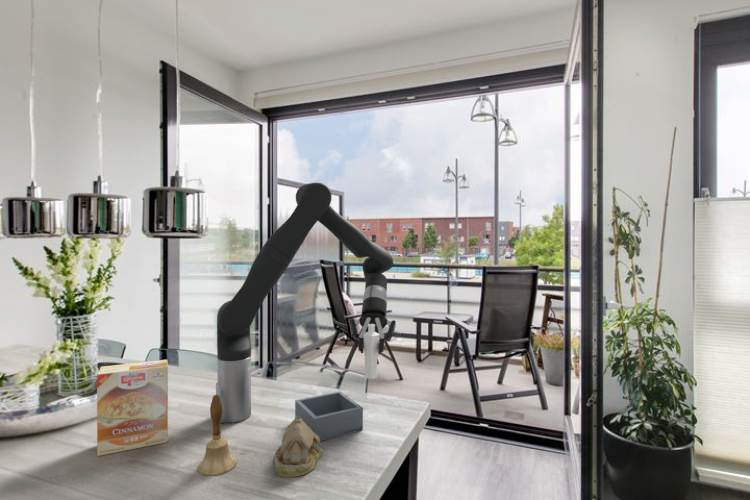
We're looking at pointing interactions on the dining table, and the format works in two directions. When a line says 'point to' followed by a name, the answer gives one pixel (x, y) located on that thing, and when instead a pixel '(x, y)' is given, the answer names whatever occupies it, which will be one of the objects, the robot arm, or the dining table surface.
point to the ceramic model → (297, 450)
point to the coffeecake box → (132, 406)
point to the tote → (330, 414)
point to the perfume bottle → (371, 352)
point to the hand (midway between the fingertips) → (370, 352)
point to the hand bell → (216, 446)
